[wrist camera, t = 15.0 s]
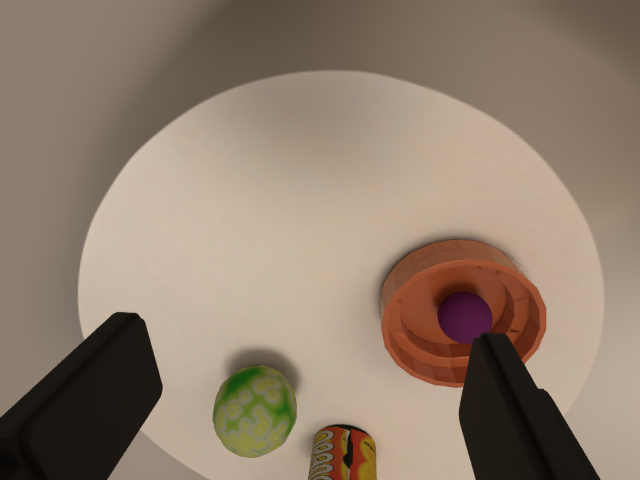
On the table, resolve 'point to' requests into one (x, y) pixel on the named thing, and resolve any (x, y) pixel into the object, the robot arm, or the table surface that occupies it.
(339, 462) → the beverage can
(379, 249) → the table surface
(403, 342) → the bowl
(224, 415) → the decorative ball
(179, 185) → the table surface
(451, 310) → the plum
